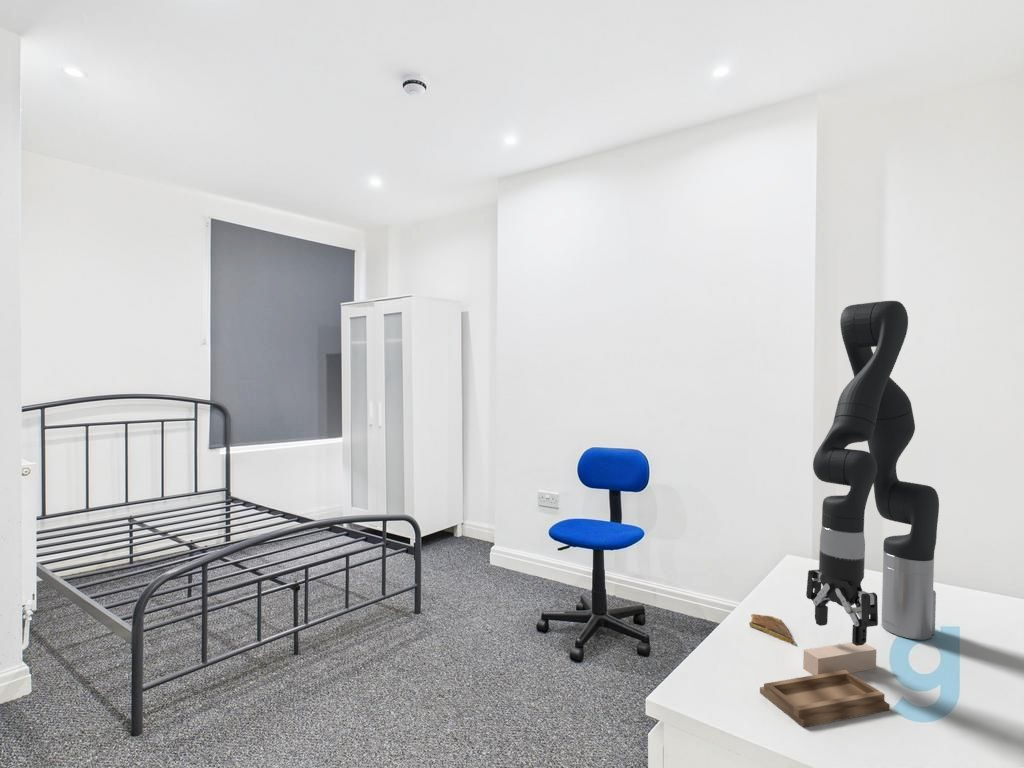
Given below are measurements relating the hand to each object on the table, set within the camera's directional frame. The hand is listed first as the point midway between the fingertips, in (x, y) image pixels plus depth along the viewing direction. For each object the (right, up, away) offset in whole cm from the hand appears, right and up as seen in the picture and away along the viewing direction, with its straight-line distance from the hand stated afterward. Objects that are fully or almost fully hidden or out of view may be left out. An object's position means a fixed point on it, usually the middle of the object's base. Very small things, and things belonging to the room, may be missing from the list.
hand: (839, 634), depth 108 cm
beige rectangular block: (0, -7, 0) cm, 7 cm away
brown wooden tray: (-9, -7, -11) cm, 16 cm away
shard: (-4, -7, +17) cm, 19 cm away
